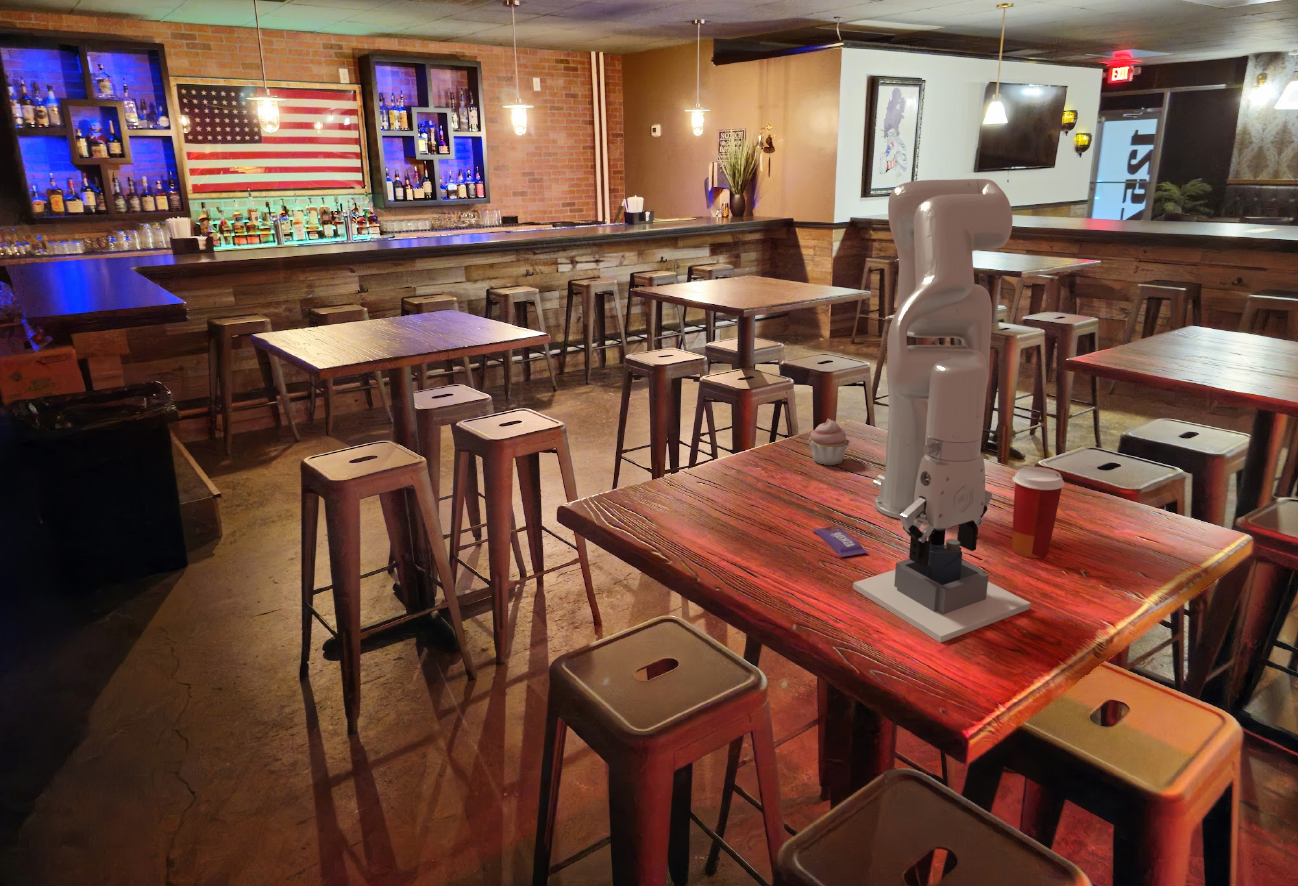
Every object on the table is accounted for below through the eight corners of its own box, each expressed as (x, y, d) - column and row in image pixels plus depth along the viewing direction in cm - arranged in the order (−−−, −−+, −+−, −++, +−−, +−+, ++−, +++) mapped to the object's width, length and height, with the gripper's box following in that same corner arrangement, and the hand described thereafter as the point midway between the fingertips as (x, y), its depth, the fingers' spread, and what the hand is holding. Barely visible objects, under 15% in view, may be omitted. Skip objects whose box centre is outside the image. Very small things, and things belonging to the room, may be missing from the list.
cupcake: (804, 454, 189) (806, 412, 186) (846, 454, 188) (848, 412, 185) (808, 468, 180) (809, 424, 177) (851, 468, 179) (853, 424, 176)
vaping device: (921, 588, 126) (926, 515, 123) (955, 586, 127) (961, 514, 123) (927, 596, 124) (932, 522, 120) (961, 594, 124) (968, 520, 121)
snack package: (868, 547, 140) (841, 551, 138) (868, 557, 140) (841, 562, 139) (837, 520, 150) (811, 525, 149) (836, 530, 151) (811, 534, 150)
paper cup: (1052, 543, 142) (1062, 467, 137) (1057, 563, 135) (1068, 484, 130) (1002, 538, 144) (1011, 463, 140) (1005, 557, 137) (1014, 479, 133)
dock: (853, 588, 129) (854, 559, 127) (937, 561, 137) (939, 534, 135) (940, 642, 114) (943, 610, 112) (1029, 609, 122) (1033, 578, 120)
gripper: (927, 465, 111) (918, 579, 116) (1016, 443, 118) (1003, 551, 124) (887, 450, 117) (880, 558, 122) (974, 430, 124) (964, 533, 130)
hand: (942, 555), depth 123 cm, fingers open, 9 cm apart
